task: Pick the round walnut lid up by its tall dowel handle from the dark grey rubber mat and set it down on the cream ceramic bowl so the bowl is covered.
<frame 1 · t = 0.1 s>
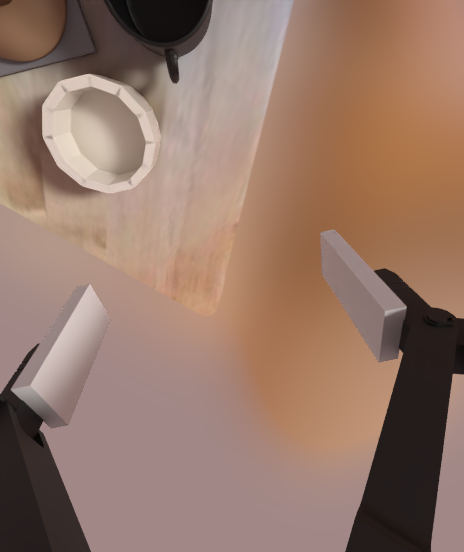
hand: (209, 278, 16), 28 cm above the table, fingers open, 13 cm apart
mug: (169, 18, 31), on the table
bowl: (114, 133, 36), on the table
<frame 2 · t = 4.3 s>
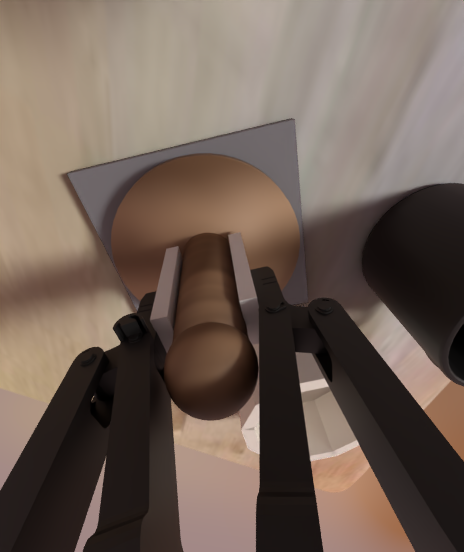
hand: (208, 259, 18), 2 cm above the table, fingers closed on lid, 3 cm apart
mug: (415, 258, 22), on the table
bowl: (295, 364, 28), on the table
mat: (207, 244, 20), on the table
lid: (208, 248, 19), point 1 cm above the table, touching gripper
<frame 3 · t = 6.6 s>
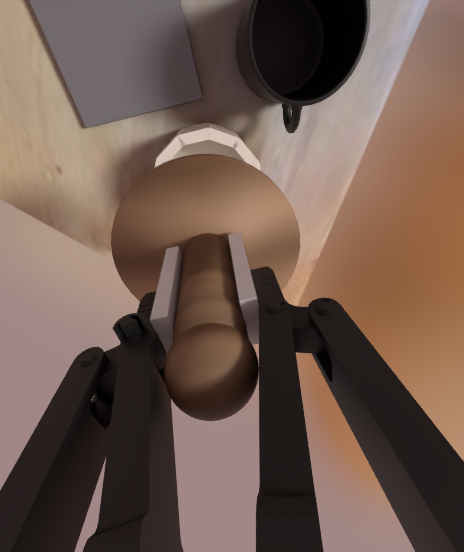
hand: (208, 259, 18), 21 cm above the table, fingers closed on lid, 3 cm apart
mug: (280, 63, 30), on the table
bowl: (207, 175, 35), on the table
mat: (119, 37, 28), on the table
lid: (208, 248, 19), point 19 cm above the table, touching gripper
when the fingers open (9 cm above the table, at t = 9.3 s): lid drops 1 cm, resting on bowl.
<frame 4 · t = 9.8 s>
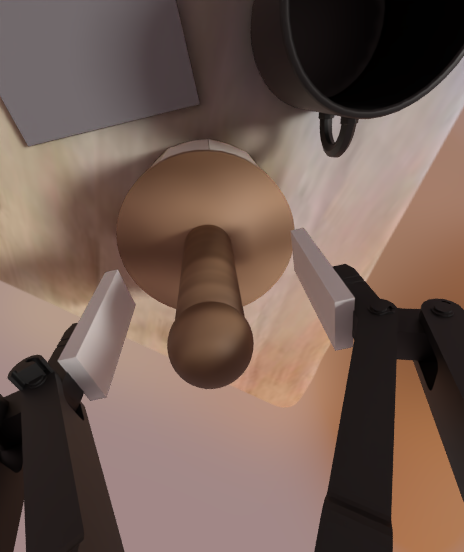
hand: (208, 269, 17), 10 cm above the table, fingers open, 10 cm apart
mug: (316, 53, 20), on the table
bowl: (207, 210, 26), on the table
mat: (70, 9, 18), on the table
lid: (207, 239, 21), point 6 cm above the table, touching bowl
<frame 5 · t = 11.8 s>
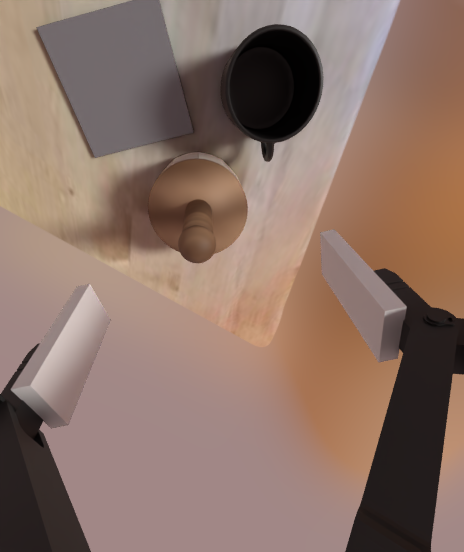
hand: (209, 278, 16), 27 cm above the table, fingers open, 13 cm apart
mug: (259, 103, 36), on the table
bowl: (199, 195, 41), on the table
mat: (123, 85, 33), on the table
lid: (198, 209, 36), point 6 cm above the table, touching bowl
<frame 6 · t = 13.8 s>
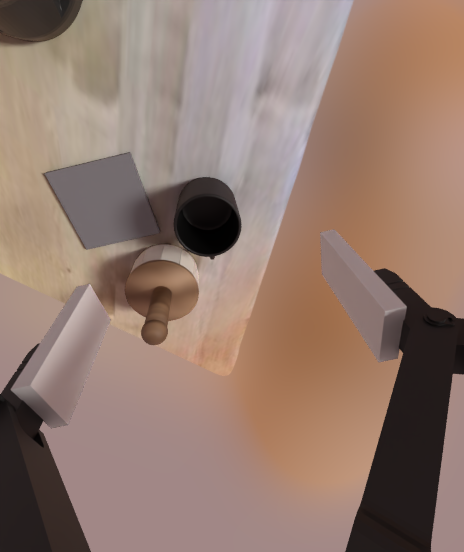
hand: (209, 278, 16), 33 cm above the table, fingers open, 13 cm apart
mug: (208, 212, 48), on the table
bowl: (166, 271, 54), on the table
mat: (107, 204, 46), on the table
lid: (163, 290, 49), point 6 cm above the table, touching bowl
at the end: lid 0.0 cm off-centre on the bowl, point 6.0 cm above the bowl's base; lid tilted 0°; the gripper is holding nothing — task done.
